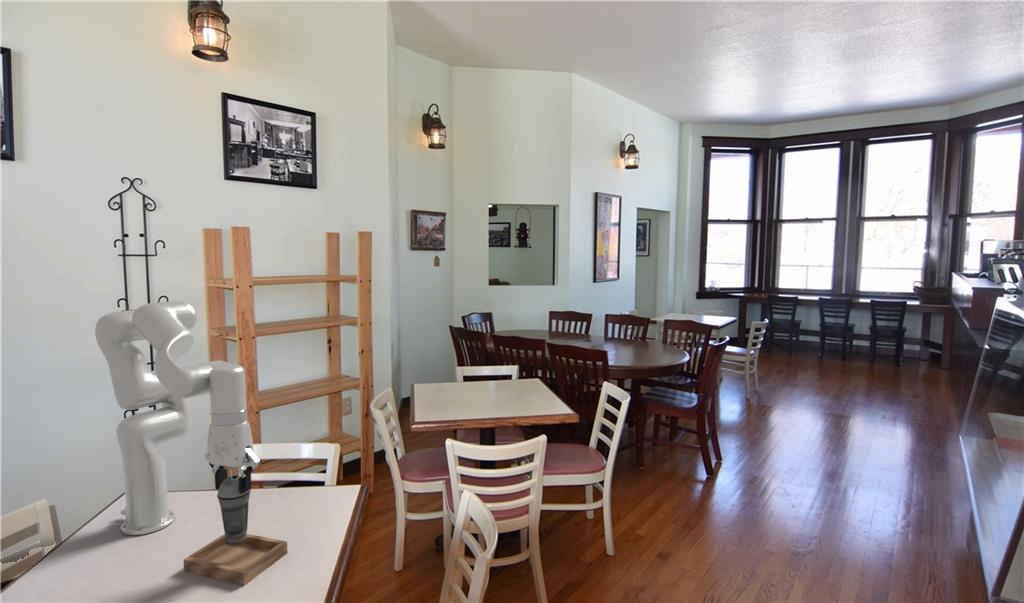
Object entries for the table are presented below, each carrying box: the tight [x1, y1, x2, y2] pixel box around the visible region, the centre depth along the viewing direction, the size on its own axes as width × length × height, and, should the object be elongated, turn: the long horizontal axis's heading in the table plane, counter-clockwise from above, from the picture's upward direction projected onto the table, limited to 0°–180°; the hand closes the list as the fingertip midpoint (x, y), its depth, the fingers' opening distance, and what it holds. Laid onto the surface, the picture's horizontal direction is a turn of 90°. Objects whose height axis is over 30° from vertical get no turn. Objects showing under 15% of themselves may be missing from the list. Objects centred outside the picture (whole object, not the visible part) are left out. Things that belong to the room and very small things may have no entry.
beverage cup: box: [216, 467, 252, 543], centre depth 131 cm, size 7×7×20 cm
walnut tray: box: [183, 533, 288, 586], centre depth 133 cm, size 18×14×3 cm
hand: (233, 488), depth 131 cm, fingers closed on beverage cup, 6 cm apart
